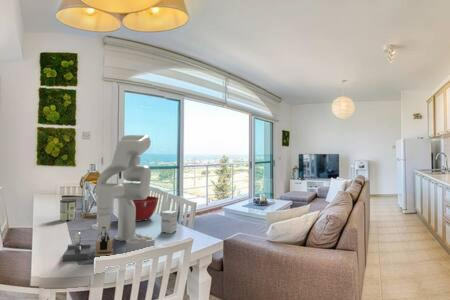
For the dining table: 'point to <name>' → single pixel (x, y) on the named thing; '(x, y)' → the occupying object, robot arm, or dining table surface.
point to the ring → (109, 245)
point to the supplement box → (169, 221)
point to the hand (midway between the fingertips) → (104, 246)
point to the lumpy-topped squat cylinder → (139, 242)
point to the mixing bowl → (145, 207)
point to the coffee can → (67, 209)
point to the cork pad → (103, 253)
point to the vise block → (77, 250)
